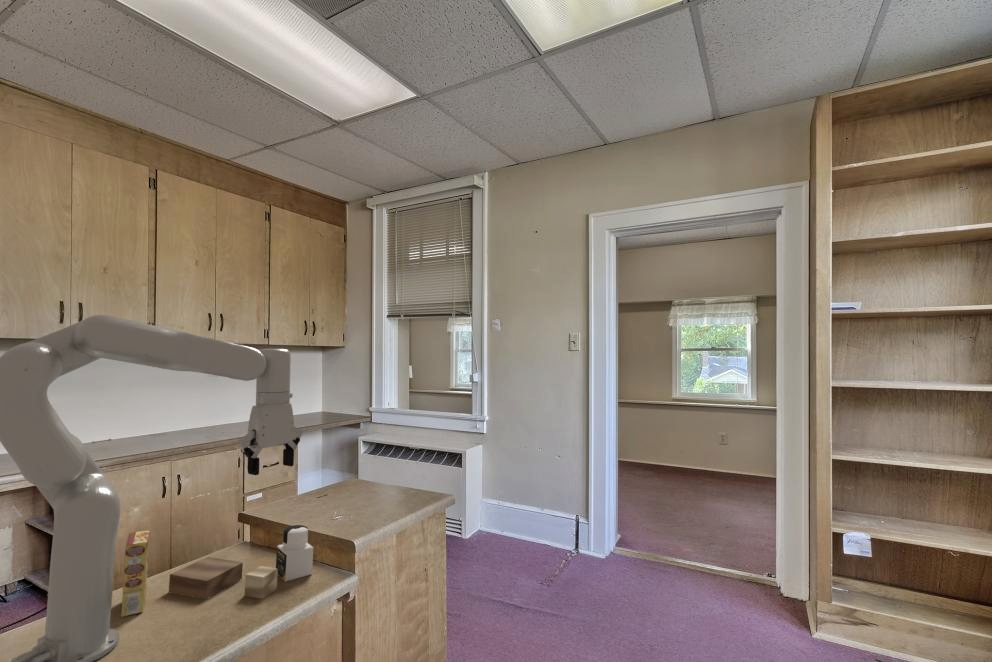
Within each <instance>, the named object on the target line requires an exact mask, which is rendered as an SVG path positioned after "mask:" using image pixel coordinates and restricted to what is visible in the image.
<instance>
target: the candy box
mask: <svg viewBox="0 0 992 662" xmlns="http://www.w3.org/2000/svg"><path fill="white" fill-rule="evenodd" d="M149 544H150V530H142V531H141V530H140V531H134V532H130V533H128V536H127V541H126V544H125V547H124V561H123V562H124V567H123V579H122V582H123V583H122V598H121V599H122V600H121V613H120V617H128V616H131V615H136V614H140V613H141V614H142V613H144V610H145V606H146V605H145V603H146V597H147V595H146V594H147V585H148V584H147V581H148V566H149V565H148V563H149V549H150V548H149V547H150V545H149Z"/></svg>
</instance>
